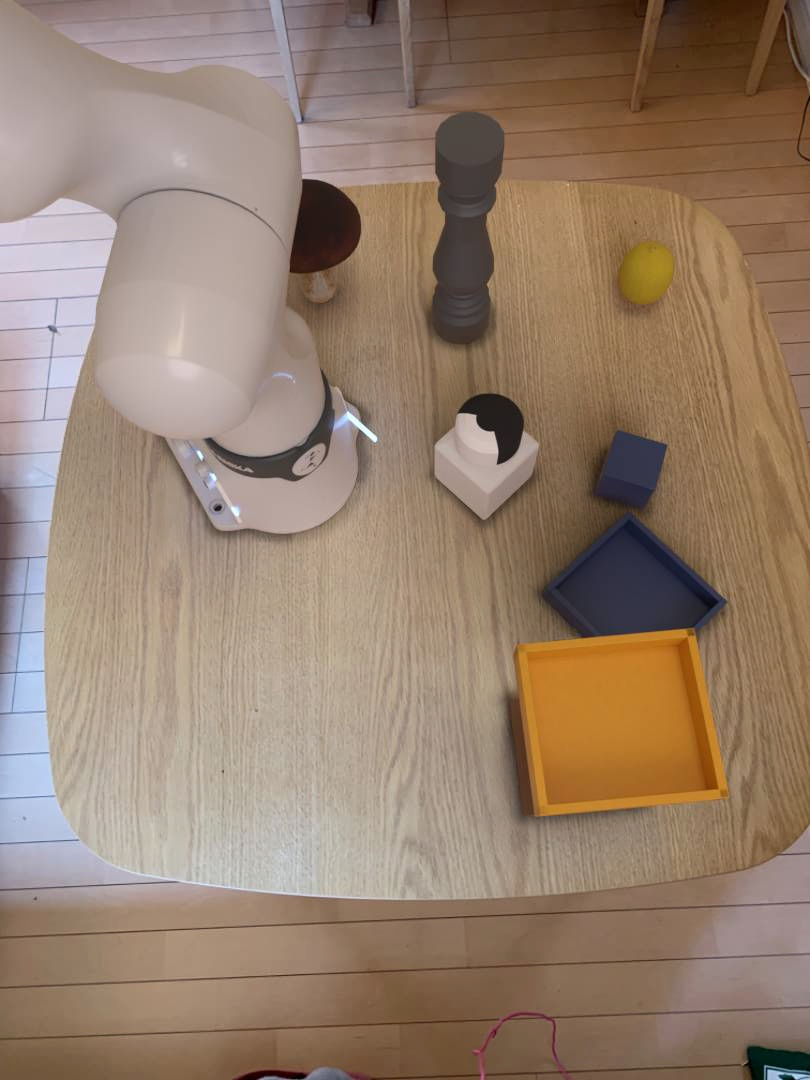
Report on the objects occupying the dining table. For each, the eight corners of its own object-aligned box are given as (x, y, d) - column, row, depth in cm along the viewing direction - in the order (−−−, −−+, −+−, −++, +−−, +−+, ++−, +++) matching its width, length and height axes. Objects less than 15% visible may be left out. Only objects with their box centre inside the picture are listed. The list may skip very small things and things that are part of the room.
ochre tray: (511, 824, 74) (540, 815, 54) (495, 696, 78) (517, 644, 58) (650, 811, 74) (729, 797, 54) (628, 684, 78) (694, 627, 58)
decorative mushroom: (356, 244, 96) (343, 140, 82) (380, 323, 92) (370, 228, 78) (261, 266, 95) (232, 165, 81) (282, 347, 92) (254, 256, 77)
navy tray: (541, 596, 81) (545, 586, 78) (622, 522, 83) (629, 510, 81) (636, 690, 78) (644, 684, 75) (718, 610, 80) (728, 601, 77)
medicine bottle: (481, 430, 87) (488, 368, 76) (533, 475, 85) (548, 418, 74) (432, 476, 86) (432, 419, 75) (484, 522, 84) (491, 471, 73)
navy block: (593, 494, 85) (602, 473, 80) (606, 452, 86) (616, 429, 81) (642, 510, 84) (654, 490, 79) (655, 466, 85) (668, 444, 81)
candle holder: (453, 286, 94) (459, 97, 70) (500, 314, 92) (523, 130, 69) (420, 326, 92) (416, 146, 68) (467, 354, 91) (480, 180, 67)
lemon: (660, 322, 91) (680, 274, 84) (608, 314, 92) (624, 266, 84) (665, 280, 93) (685, 230, 85) (614, 272, 94) (630, 222, 86)
